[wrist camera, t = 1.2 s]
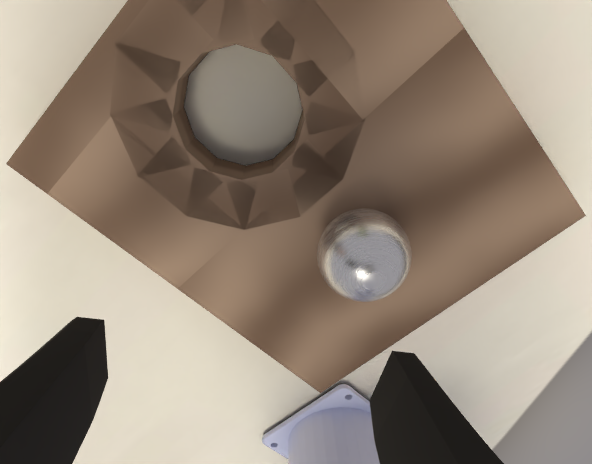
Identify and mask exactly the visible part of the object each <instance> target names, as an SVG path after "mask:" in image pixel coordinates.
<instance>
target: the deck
mask: <svg viewBox="0 0 592 464" xmlns="http://www.w3.org/2000/svg"><path fill="white" fill-rule="evenodd" d="M235 44H238V45H241V46H244V47H247V48H250V49H253V50H256V51H260V52H263V53H266V54H269V55H272V56H273V57H274V58H275V59H276V60H277V62H278V63H279V64H280V65H281V66H282V67H283V68H284V69H285V70H286V72H287V73H288V74H289V75H290V76H291V77H292V78H293V79H294V81H295V82H296V83H297V87H298V91H299V96H300V100H301V104H302V109H303V111H302V114H301V117H300V121H299V124H298V128H297V131H296V134H295V138H294V140H293V141H292V142H291V143H290V144H288V145H287V146H286V147H285V148H284V149H283V150H282V151H281V152H280V153H279V154H278V155H277V156H276V157H275V158H274V159H271V160H267V161H263V162H259V163H255V164H251V165H247V166H244V165H241V164H237V163H233V162H230V161H226V160H222V159H218V158H217V157H215V156H214V155H213V154H212V153H211V152H210V151H209V150H208V149H207V148H206V147H205V146H203V145H202V144H201V143H200V142H199V141H198V140H197V139H196V138H195V137H194V134H193V132H192V129H191V126H190V123H189V121H188V118H187V115H186V112H185V110H184V102H185V96H186V90H187V83H188V77H189V75H190V73H191V72H192V71H193V70H194V69H195V68H196V67H197V65H198V64H199V63H200V62H201V61H202V60H203V58H204V57H205V56H206V55H207V54H208V53H209V52H210V51H213V50H216V49H220V48H224V47H227V46H231V45H235ZM6 164H7V165H8V166H10V167H11V168H13V169H14V170H15V171H17V172H18V173H19V174H21V175H22V176H24V177H25V178H26V179H28V180H29V181H30V182H32V183H33V184H35V185H36V186H37V187H39V188H40V189H41V190H43V191H44V192H46V193H47V194H48V195H50V196H51V197H52V198H54V199H55V200H57V201H58V202H59V203H61V204H62V205H63V206H65V207H66V208H68V209H69V210H70V211H72V212H73V213H74V214H76V215H77V216H78V217H80V218H81V219H83V220H84V221H85V222H87V223H88V224H89V225H91V226H92V227H94V228H95V229H96V230H98V231H99V232H100V233H102V234H103V235H105V236H106V237H107V238H109V239H110V240H111V241H113V242H114V243H116V244H117V245H118V246H120V247H121V248H122V249H124V250H125V251H127V252H128V253H129V254H131V255H132V256H133V257H135V258H136V259H137V260H139V261H140V262H142V263H143V264H144V265H146V266H147V267H148V268H150V269H151V270H153V271H154V272H155V273H157V274H158V275H159V276H161V277H162V278H164V279H165V280H166V281H168V282H169V283H170V284H172V285H173V286H175V287H176V288H177V289H179V290H180V291H181V292H183V293H184V294H186V295H187V296H188V297H190V298H191V299H192V300H194V301H195V302H197V303H198V304H199V305H201V306H202V307H203V308H205V309H206V310H207V311H209V312H210V313H212V314H213V315H214V316H216V317H217V318H218V319H220V320H221V321H223V322H224V323H225V324H227V325H228V326H229V327H231V328H232V329H234V330H235V331H236V332H238V333H239V334H240V335H242V336H243V337H245V338H246V339H247V340H249V341H250V342H251V343H253V344H254V345H256V346H257V347H258V348H260V349H261V350H262V351H264V352H265V353H267V354H268V355H269V356H271V357H272V358H273V359H275V360H276V361H277V362H279V363H280V364H282V365H283V366H284V367H286V368H287V369H288V370H290V371H291V372H293V373H294V374H295V375H297V376H298V377H299V378H301V379H302V380H304V381H305V382H306V383H308V384H309V385H310V386H312V387H313V388H315V389H316V390H317V391H319V392H320V393H321V392H323V391H324V390H326V389H327V388H329V387H330V386H332V385H333V384H334V383H336V382H337V381H339V380H340V379H342V378H343V377H345V376H346V375H348V374H349V373H351V372H352V371H354V370H355V369H357V368H358V367H360V366H361V365H363V364H364V363H366V362H367V361H369V360H370V359H372V358H373V357H375V356H376V355H378V354H379V353H381V352H382V351H384V350H385V349H387V348H388V347H390V346H391V345H393V344H394V343H396V342H397V341H399V340H400V339H402V338H403V337H405V336H406V335H408V334H409V333H411V332H412V331H414V330H415V329H417V328H418V327H420V326H421V325H423V324H424V323H426V322H427V321H429V320H430V319H432V318H433V317H435V316H436V315H438V314H439V313H441V312H442V311H444V310H445V309H447V308H448V307H450V306H451V305H453V304H454V303H456V302H457V301H459V300H460V299H462V298H463V297H465V296H466V295H468V294H469V293H471V292H472V291H474V290H475V289H477V288H478V287H480V286H481V285H483V284H484V283H486V282H487V281H489V280H490V279H492V278H493V277H495V276H496V275H498V274H499V273H501V272H502V271H504V270H505V269H507V268H508V267H510V266H511V265H513V264H514V263H516V262H517V261H519V260H520V259H522V258H523V257H525V256H526V255H528V254H529V253H531V252H532V251H534V250H535V249H537V248H538V247H539V246H541V245H542V244H544V243H545V242H547V241H548V240H550V239H551V238H553V237H554V236H556V235H557V234H559V233H560V232H562V231H563V230H565V229H566V228H568V227H569V226H571V225H572V224H574V223H575V222H577V221H578V220H580V219H581V218H583V217H584V216H586V215H585V214H584V212H583V210H582V209H581V207H580V206H579V204H578V203H577V201H576V200H575V198H574V197H573V195H572V193H571V192H570V190H569V189H568V187H567V186H566V184H565V183H564V181H563V180H562V178H561V176H560V175H559V173H558V172H557V170H556V169H555V167H554V166H553V164H552V163H551V161H550V160H549V158H548V156H547V155H546V153H545V152H544V150H543V149H542V147H541V146H540V144H539V143H538V141H537V139H536V138H535V136H534V135H533V133H532V132H531V130H530V129H529V127H528V126H527V124H526V122H525V121H524V119H523V118H522V116H521V115H520V113H519V112H518V110H517V109H516V107H515V105H514V104H513V102H512V101H511V99H510V98H509V96H508V95H507V93H506V92H505V90H504V89H503V87H502V85H501V84H500V82H499V81H498V79H497V78H496V76H495V75H494V73H493V72H492V70H491V68H490V67H489V65H488V64H487V62H486V61H485V59H484V58H483V56H482V55H481V53H480V51H479V50H478V48H477V47H476V45H475V44H474V42H473V41H472V39H471V38H470V36H469V35H468V33H467V31H466V30H465V28H464V27H463V25H462V24H461V22H460V21H459V19H458V18H457V16H456V14H455V13H454V11H453V10H452V8H451V7H450V5H449V4H448V2H447V1H446V0H128V1H127V2H126V4H125V5H124V6H123V8H122V9H121V10H120V12H119V13H118V15H117V16H116V17H115V19H114V20H113V21H112V23H111V24H110V25H109V27H108V28H107V29H106V31H105V32H104V33H103V35H102V36H101V37H100V39H99V40H98V41H97V43H96V44H95V45H94V47H93V48H92V49H91V51H90V52H89V53H88V55H87V56H86V57H85V59H84V60H83V61H82V63H81V64H80V65H79V67H78V68H77V70H76V71H75V72H74V74H73V75H72V76H71V78H70V79H69V80H68V82H67V83H66V84H65V86H64V87H63V88H62V90H61V91H60V92H59V94H58V95H57V96H56V98H55V99H54V100H53V102H52V103H51V104H50V106H49V107H48V108H47V110H46V111H45V112H44V114H43V115H42V116H41V118H40V119H39V120H38V122H37V123H36V125H35V126H34V127H33V129H32V130H31V131H30V133H29V134H28V135H27V137H26V138H25V139H24V141H23V142H22V143H21V145H20V146H19V147H18V149H17V150H16V151H15V153H14V154H13V155H12V157H11V158H10V159H9V161H8V162H7V163H6ZM364 208H365V209H373V210H377V211H380V212H383V213H385V214H387V215H389V216H390V217H392V218H393V219H394V220H396V221H397V222H398V223H399V224H400V226H401V227H402V228H403V229H404V231H405V233H406V234H407V237H408V239H409V242H410V246H411V252H412V259H411V266H410V270H409V272H408V275H407V277H406V279H405V280H404V282H403V283H402V284H401V286H400V287H399V288H398V289H397V290H396V291H394V292H393V293H392V294H390V295H389V296H387V297H385V298H382V299H380V300H376V301H371V302H359V301H354V300H350V299H347V298H345V297H343V296H341V295H339V294H338V293H336V292H335V291H334V290H333V289H332V288H331V287H330V286H329V285H328V284H327V283H326V281H325V280H324V278H323V276H322V275H321V272H320V269H319V266H318V261H317V248H318V243H319V240H320V237H321V235H322V233H323V231H324V230H325V228H326V227H327V226H328V224H329V223H330V222H331V221H332V220H333V219H335V218H336V217H337V216H339V215H341V214H343V213H345V212H347V211H351V210H355V209H364Z"/></svg>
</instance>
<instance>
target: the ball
mask: <svg viewBox="0 0 592 464" xmlns="http://www.w3.org/2000/svg"><path fill="white" fill-rule="evenodd" d="M411 259H412V252H411V246H410V242H409V239H408V237H407V234H406V233H405V231H404V229H403V228H402V227H401V226H400V224H399V223H398V222H397V221H396V220H394V219H393V218H392V217H390V216H389V215H387V214H385V213H383V212H380V211H377V210H373V209H365V208H364V209H355V210H351V211H347V212H345V213H343V214H341V215H339V216H337V217H336V218H335V219H333V220H332V221H331V222H330V223H329V224H328V226H327V227H326V228H325V230H324V231H323V233H322V235H321V237H320V240H319V243H318V248H317V261H318V266H319V269H320V272H321V275H322V276H323V278H324V280H325V281H326V283H327V284H328V285H329V286H330V287H331V288H332V289H333V290H334V291H335V292H336V293H338V294H339V295H341V296H343V297H345V298H347V299H350V300H354V301H359V302H371V301H376V300H380V299H382V298H385V297H387V296H389V295H390V294H392V293H393V292H394V291H396V290H397V289H398V288H399V287H400V286H401V284H402V283H403V282H404V280H405V279H406V277H407V275H408V272H409V270H410V266H411Z"/></svg>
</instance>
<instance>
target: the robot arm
mask: <svg viewBox="0 0 592 464" xmlns="http://www.w3.org/2000/svg"><path fill="white" fill-rule="evenodd" d="M107 379H108V370H107V355H106V340H105V326H104V320H100V319H91V318H81V317H76V318H75V319H73V320H72V321H71V322H70V323H68V324H67V325H66V326H65V327H64V328H63V329H62V330H60V331H59V332H58V333H57V334H56V335H55V336H54V337H53V338H51V339H50V340H49V341H48V342H47V343H46V344H45V345H43V346H42V347H41V348H40V349H39V350H38V351H37V352H35V353H34V354H33V355H32V356H31V357H30V358H28V359H27V360H26V361H25V362H24V363H23V364H21V365H20V366H19V367H18V368H17V369H15V370H14V371H13V372H12V373H11V374H9V375H8V376H7V377H6V378H4V379H3V380H2V381H1V382H0V464H72V463H73V461H74V459H75V457H76V455H77V453H78V450H79V448H80V446H81V444H82V442H83V440H84V438H85V436H86V434H87V432H88V430H89V428H90V425H91V423H92V421H93V419H94V416H95V413H96V410H97V408H98V405H99V402H100V399H101V397H102V394H103V391H104V388H105V385H106V382H107ZM348 394H349V395H348ZM262 442H263V444H264V445H266V446H267V447H269V448H271V449H272V450H274V451H276V452H277V453H279V454H281V455H282V456H284V457H286V458H287V459H288V464H504V463H503V462H502V461H501V460H500V459H499V458H498V457H497V456H496V454H495V453H494V452H493V451H492V450H491V449H490V447H489V446H488V445H487V444H486V443H485V442H484V440H483V439H482V438H481V437H480V436H479V434H478V433H477V432H476V431H475V430H474V428H473V427H472V426H471V425H470V423H469V422H468V421H467V420H466V419H465V417H464V416H463V415H462V414H461V412H460V411H459V410H458V409H457V407H456V406H455V405H454V404H453V402H452V401H451V400H450V398H449V397H448V396H447V395H446V393H445V392H444V391H443V390H442V388H441V387H440V386H439V384H438V383H437V382H436V381H435V379H434V378H433V377H432V375H431V374H430V373H429V372H428V370H427V369H426V368H425V366H424V365H423V364H422V363H421V361H420V360H419V359H418V358H417V356H416V355H415V354H414V353H406V352H396V351H392V353H391V355H390V357H389V359H388V361H387V364H386V366H385V368H384V370H383V372H382V375H381V377H380V379H379V381H378V383H377V386H376V388H375V390H374V392H373V394H372V397H371V399H370V401H368V400H367V399H366V398H364V397H363V396H362V395H360V394H359V393H358V392H357V391H355V390H354V389H353V388H351V387H350V386H349V385H347V384H340V385H338V386H337V387H335V388H334V389H332V390H331V391H329V392H328V393H326V394H325V395H323V396H322V397H320V398H319V399H317V400H316V401H314V402H313V403H311V404H310V405H308V406H307V407H305V408H304V409H302V410H301V411H299V412H298V413H296V414H294V415H293V416H291V417H290V418H288V419H287V420H285V421H284V422H282V423H281V424H279V425H278V426H276V427H275V428H273V429H272V430H270V431H269V432H267V433H266V434H264V435H263V438H262Z"/></svg>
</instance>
